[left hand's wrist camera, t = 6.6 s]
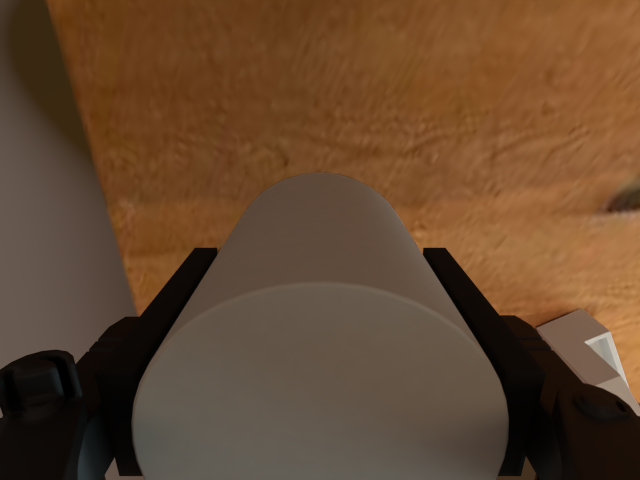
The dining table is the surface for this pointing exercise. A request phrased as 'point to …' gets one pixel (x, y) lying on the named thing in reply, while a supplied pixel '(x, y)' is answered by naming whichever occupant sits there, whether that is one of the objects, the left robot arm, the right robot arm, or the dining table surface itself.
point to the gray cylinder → (320, 355)
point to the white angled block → (588, 353)
